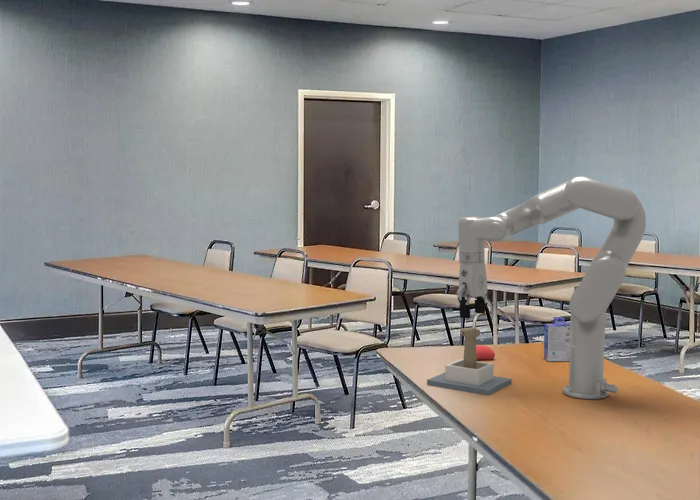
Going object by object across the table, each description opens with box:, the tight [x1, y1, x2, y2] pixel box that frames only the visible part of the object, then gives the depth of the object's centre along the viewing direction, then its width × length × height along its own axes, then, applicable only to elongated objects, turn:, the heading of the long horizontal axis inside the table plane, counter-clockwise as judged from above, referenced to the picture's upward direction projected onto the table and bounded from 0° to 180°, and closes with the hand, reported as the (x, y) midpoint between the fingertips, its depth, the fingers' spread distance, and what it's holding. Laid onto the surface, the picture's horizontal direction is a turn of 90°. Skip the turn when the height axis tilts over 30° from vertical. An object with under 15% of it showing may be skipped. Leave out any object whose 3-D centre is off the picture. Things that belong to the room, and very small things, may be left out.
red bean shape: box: [476, 344, 496, 361], centre depth 277 cm, size 5×9×6 cm
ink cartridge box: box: [543, 316, 571, 362], centre depth 277 cm, size 10×6×14 cm, turn 94°
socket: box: [426, 358, 513, 396], centre depth 245 cm, size 20×16×6 cm
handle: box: [460, 327, 481, 369], centre depth 244 cm, size 5×6×15 cm
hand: (472, 315), depth 243 cm, fingers open, 9 cm apart
